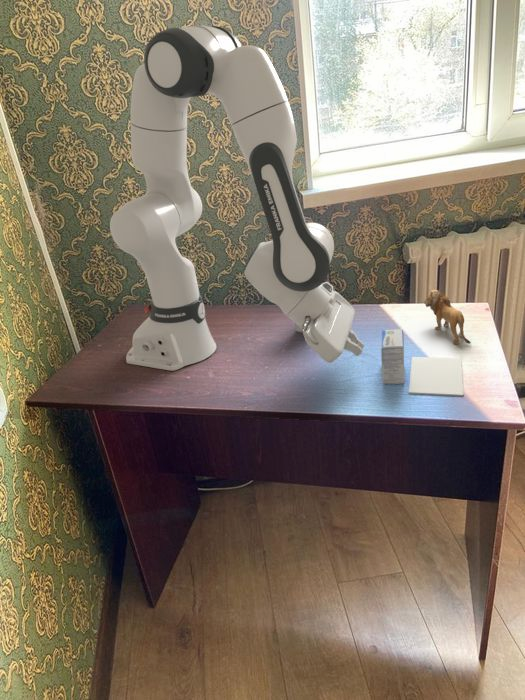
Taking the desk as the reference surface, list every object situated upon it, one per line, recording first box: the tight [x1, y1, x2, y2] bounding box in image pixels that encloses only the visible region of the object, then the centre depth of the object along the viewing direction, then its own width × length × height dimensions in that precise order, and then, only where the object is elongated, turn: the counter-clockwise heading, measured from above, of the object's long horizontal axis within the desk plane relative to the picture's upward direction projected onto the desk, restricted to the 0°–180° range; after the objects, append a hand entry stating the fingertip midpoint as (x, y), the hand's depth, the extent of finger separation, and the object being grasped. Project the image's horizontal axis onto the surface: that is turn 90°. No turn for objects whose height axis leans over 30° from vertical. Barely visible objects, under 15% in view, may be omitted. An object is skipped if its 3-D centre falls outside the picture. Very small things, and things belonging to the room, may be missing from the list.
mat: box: [408, 356, 464, 397], centre depth 109 cm, size 10×14×1 cm
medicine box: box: [380, 328, 405, 385], centre depth 110 cm, size 8×4×9 cm, turn 168°
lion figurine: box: [422, 289, 472, 345], centre depth 122 cm, size 15×5×9 cm, turn 21°
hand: (361, 350), depth 111 cm, fingers closed
